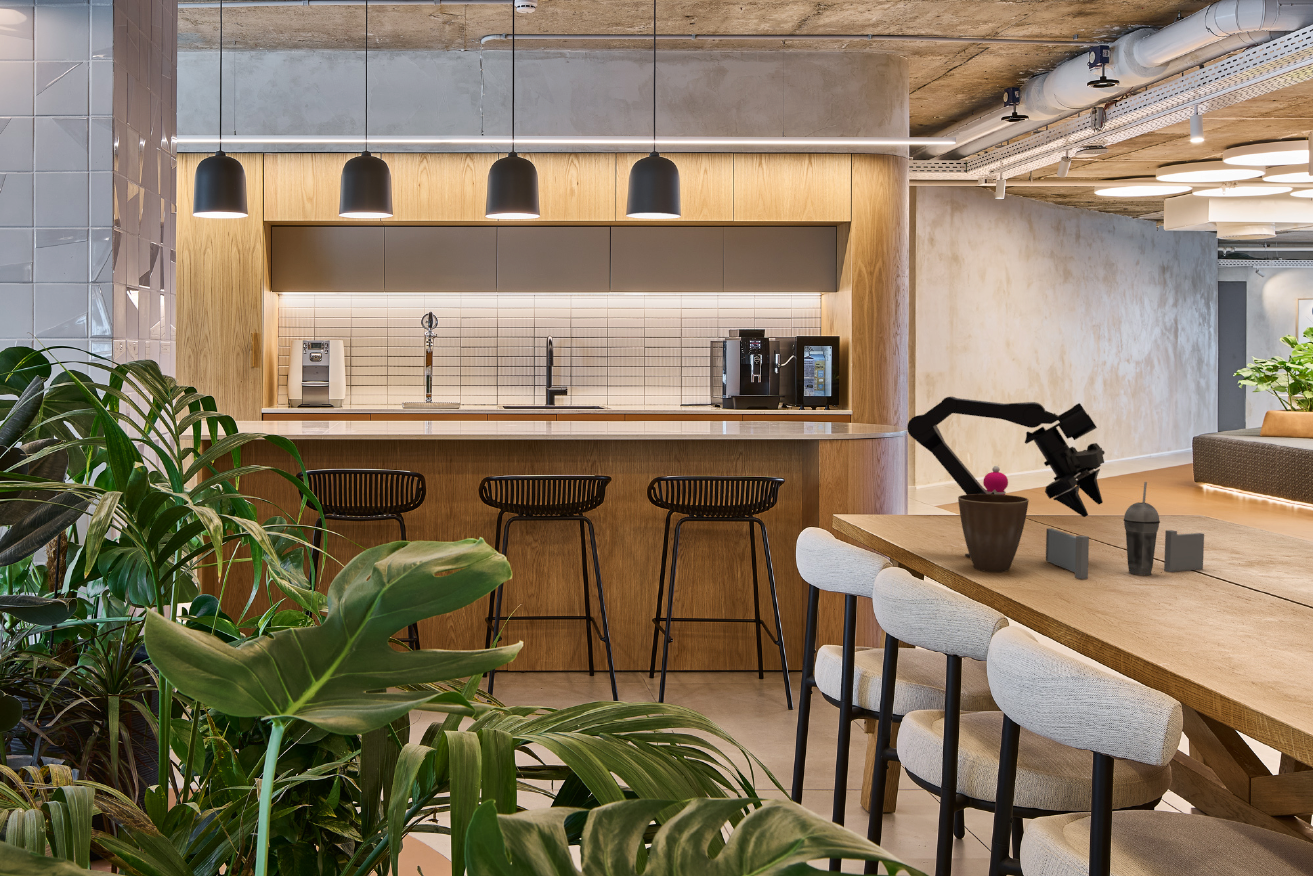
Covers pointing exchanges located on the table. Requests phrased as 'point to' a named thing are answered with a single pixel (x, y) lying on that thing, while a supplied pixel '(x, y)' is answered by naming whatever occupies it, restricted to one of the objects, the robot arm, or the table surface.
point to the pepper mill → (996, 481)
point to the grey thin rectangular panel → (1061, 549)
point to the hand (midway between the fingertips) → (1093, 509)
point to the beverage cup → (1141, 536)
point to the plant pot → (992, 528)
